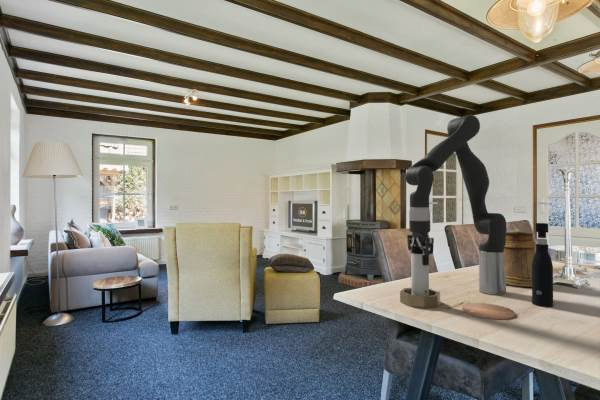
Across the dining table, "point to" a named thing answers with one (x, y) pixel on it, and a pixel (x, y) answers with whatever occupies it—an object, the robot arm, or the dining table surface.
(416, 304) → the collar ring
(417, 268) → the travel mug
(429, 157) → the robot arm
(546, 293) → the black water bottle
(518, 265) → the tankard
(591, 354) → the dining table surface
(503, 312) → the coaster
